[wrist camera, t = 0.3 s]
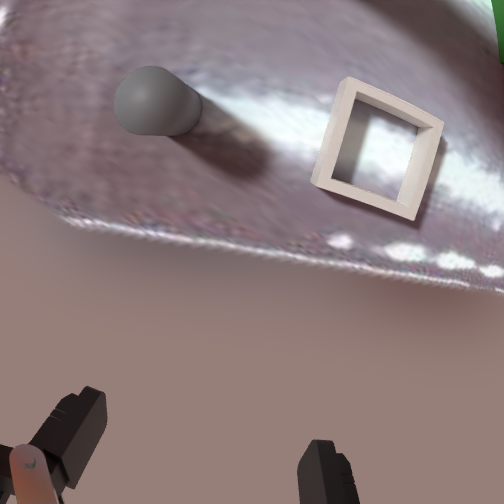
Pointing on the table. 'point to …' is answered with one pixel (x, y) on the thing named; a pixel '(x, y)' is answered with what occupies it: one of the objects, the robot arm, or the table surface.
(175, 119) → the peg
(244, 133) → the table surface
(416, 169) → the socket
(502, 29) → the hardback book
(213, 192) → the table surface
